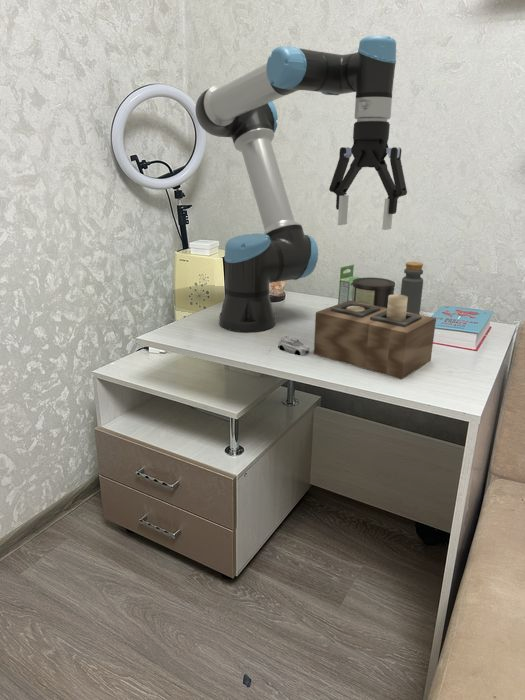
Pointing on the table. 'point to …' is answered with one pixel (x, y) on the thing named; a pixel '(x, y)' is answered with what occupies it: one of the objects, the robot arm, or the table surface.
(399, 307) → the dowel
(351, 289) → the ink box
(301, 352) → the toy car
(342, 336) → the socket block
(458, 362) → the table surface
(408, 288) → the bottle
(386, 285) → the coffee can
